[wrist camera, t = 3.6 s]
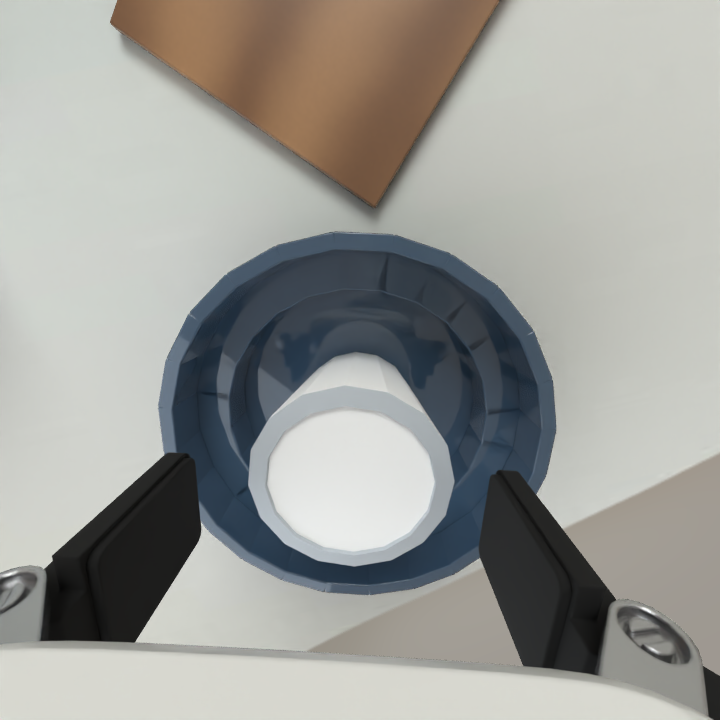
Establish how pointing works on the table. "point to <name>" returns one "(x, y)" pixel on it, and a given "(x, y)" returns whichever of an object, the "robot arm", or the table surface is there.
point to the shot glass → (351, 465)
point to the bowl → (370, 336)
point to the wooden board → (319, 70)
